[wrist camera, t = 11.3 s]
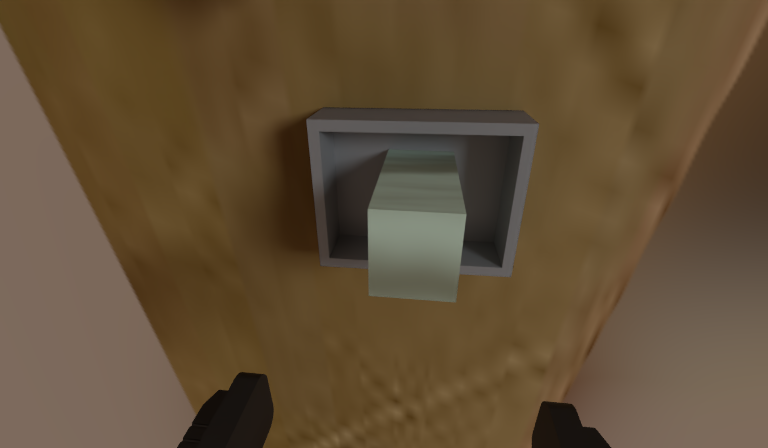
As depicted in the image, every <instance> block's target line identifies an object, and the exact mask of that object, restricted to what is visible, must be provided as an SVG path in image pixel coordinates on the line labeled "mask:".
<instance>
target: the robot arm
mask: <svg viewBox="0 0 768 448" xmlns="http://www.w3.org/2000/svg"><path fill="white" fill-rule="evenodd" d="M273 412H274V408H273V402H272V398H271V393H270V388H269V384H268V379H267V376H266V375H265V374H255V373H245V372H240V373H239V374H238V375H237V376H236V377H235V379H234V381H233V383H232V384H231V386H230V388H229V390H228V391H225V390H218V391H217V392H216V393H215V394H214V395H213V396H212V397H211V398H210V399H209V400H208V401H206V402H205V403H204V404H203V406H202V407H201V409H200V411H199V412H198V414H197V416H196V417H195V419H194V421H193V422H192V426H191V427H189V429H188V430H187V432H186V434H185V435H184V437H183V441H182V442H180V444H179V445H178V447H177V448H263V445H264V443H265V440H266V438H267V435H268V433H269V430H270V427H271V424H272V420H273ZM532 448H611V447H610V446H609V444H608V443H607V442H606V441H605V440H604V438H603V437H602V436H601V435H600V433H599V432H598V431H597V430H596V429H595V428H590V427H582V424H581V421H580V419H579V416H578V413H577V411H576V409H575V407H574V406H573V405H572V404H568V403H557V402H546V401H543V402H542V403H541V406H540V410H539V413H538V417H537V420H536V423H535V427H534V430H533V434H532Z"/></svg>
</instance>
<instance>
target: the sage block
mask: <svg viewBox="0 0 768 448" xmlns="http://www.w3.org/2000/svg"><path fill="white" fill-rule="evenodd" d="M465 222H466V210H465V205H464V200H463V195H462V190H461V185H460V180H459V175H458V170H457V165H456V160H455V155H454V152H449V151H423V150H397V149H389V150H388V153H387V156H386V158H385V161H384V164H383V167H382V170H381V173H380V175H379V178H378V181H377V184H376V187H375V190H374V192H373V195H372V198H371V201H370V204H369V207H368V271H369V296H380V297H393V298H406V299H420V300H433V301H446V302H456V297H457V288H458V280H459V272H460V263H461V255H462V247H463V238H464V230H465Z"/></svg>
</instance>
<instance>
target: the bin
mask: <svg viewBox="0 0 768 448" xmlns="http://www.w3.org/2000/svg"><path fill="white" fill-rule="evenodd" d="M306 122H307V132H308V142H309V153H310V163H311V173H312V184H313V194H314V204H315V215H316V225H317V235H318V246H319V256H320V266H331V267H348V268H365V269H368V207H369V204H370V201H371V198H372V195H373V192H374V190H375V187H376V184H377V181H378V178H379V175H380V173H381V170H382V167H383V164H384V161H385V158H386V156H387V153H388V150H389V149H397V150H423V151H449V152H454V155H455V160H456V165H457V170H458V175H459V180H460V185H461V190H462V195H463V200H464V205H465V210H466V222H465V230H464V238H463V247H462V255H461V263H460V272H459V274H467V275H484V276H501V277H511V274H512V269H513V263H514V258H515V253H516V247H517V242H518V236H519V231H520V225H521V220H522V214H523V209H524V203H525V198H526V192H527V187H528V182H529V176H530V171H531V165H532V160H533V154H534V149H535V143H536V138H537V132H538V127H539V123H537V122H536V121H535V120H534V119H533V118H531V117H530V116H529V115H528V114H527V113H525V112H524V111H512V110H449V109H386V108H322V109H320V110H319V111H318V112H316V113H315V114H313V115H312V116H310V117H309V118H308V119H306Z"/></svg>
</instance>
